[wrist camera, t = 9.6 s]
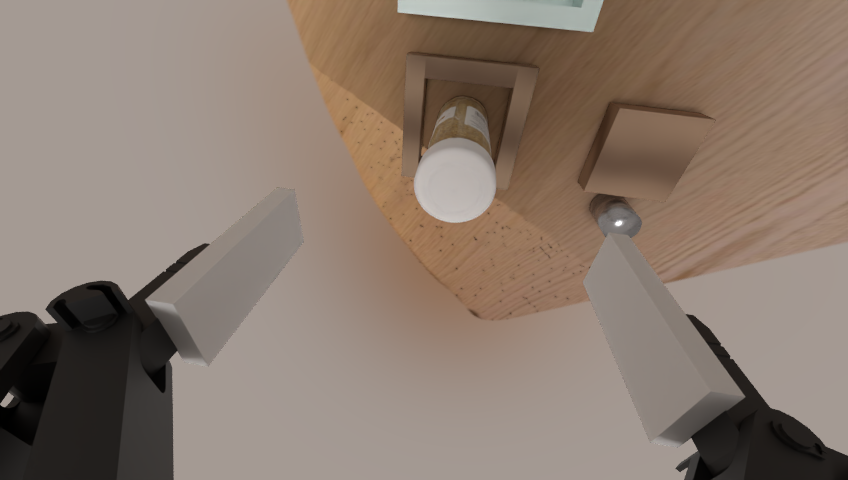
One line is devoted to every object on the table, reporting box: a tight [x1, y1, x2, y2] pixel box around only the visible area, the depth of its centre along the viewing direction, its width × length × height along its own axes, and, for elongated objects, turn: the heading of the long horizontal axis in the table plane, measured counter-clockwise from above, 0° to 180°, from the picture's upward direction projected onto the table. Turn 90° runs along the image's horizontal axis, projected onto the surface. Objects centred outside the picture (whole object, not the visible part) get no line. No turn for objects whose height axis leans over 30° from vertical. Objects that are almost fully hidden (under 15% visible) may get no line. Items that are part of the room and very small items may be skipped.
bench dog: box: [590, 194, 642, 238], centre depth 29 cm, size 3×3×4 cm
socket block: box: [401, 52, 539, 190], centre depth 27 cm, size 10×10×2 cm
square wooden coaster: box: [578, 102, 716, 202], centre depth 26 cm, size 7×7×2 cm
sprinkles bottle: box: [414, 96, 496, 223], centre depth 22 cm, size 5×5×14 cm
